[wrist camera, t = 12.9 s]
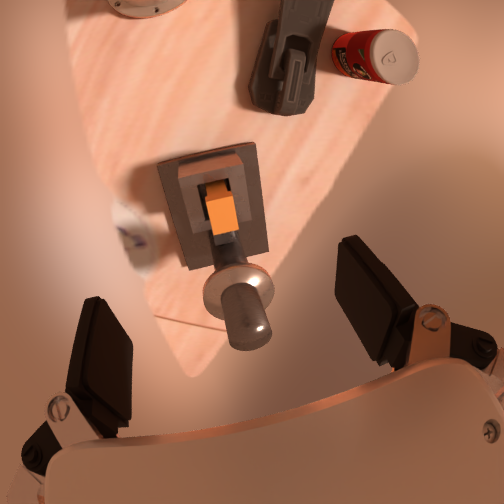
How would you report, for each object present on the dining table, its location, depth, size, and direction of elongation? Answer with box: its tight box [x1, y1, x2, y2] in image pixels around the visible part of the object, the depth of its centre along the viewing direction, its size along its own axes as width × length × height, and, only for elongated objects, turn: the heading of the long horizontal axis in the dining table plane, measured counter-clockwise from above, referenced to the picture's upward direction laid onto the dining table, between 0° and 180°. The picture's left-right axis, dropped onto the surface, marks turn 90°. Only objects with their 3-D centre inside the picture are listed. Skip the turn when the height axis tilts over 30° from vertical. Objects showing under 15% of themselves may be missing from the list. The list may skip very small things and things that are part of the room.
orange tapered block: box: [205, 179, 239, 235], centre depth 36 cm, size 4×3×10 cm
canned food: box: [332, 29, 419, 85], centre depth 29 cm, size 8×8×11 cm
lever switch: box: [157, 142, 274, 351], centre depth 36 cm, size 19×14×21 cm
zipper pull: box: [248, 0, 334, 116], centre depth 28 cm, size 9×7×25 cm
